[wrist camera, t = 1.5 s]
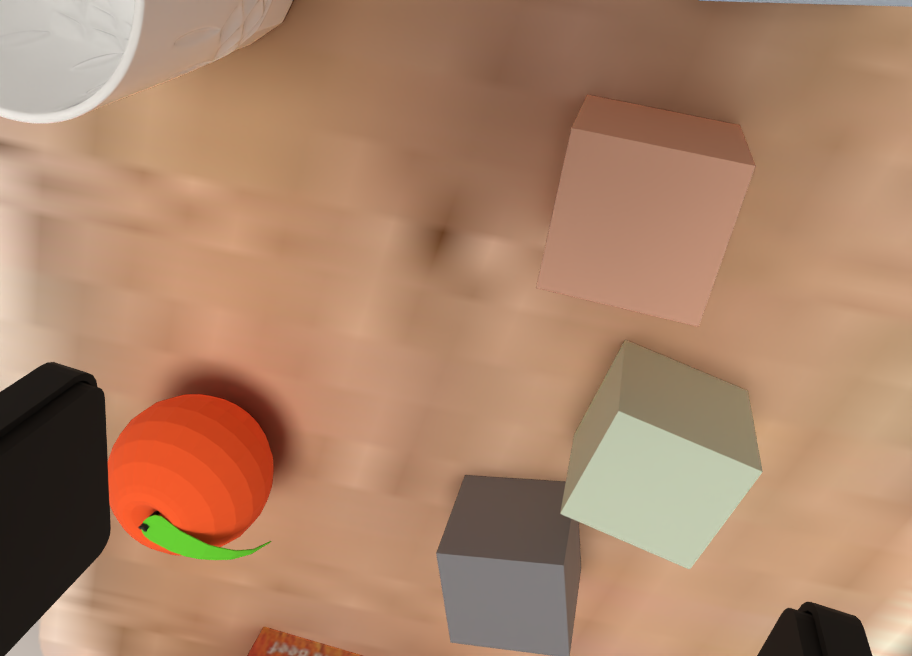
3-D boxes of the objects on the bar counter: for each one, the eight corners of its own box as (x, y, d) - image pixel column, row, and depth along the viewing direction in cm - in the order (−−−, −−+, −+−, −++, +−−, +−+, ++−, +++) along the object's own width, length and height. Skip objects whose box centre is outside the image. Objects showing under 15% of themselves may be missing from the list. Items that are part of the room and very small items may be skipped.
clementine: (340, 429, 34) (270, 537, 28) (288, 519, 38) (215, 632, 32) (189, 338, 34) (84, 428, 28) (150, 437, 37) (50, 536, 31)
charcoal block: (465, 473, 34) (436, 553, 29) (577, 481, 32) (563, 565, 28) (476, 557, 36) (450, 642, 32) (581, 567, 34) (569, 657, 30)
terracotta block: (587, 94, 25) (571, 127, 21) (739, 124, 24) (755, 166, 20) (556, 231, 27) (535, 287, 23) (693, 263, 27) (698, 326, 22)
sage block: (625, 338, 29) (618, 410, 24) (747, 389, 28) (762, 471, 24) (574, 433, 31) (560, 513, 27) (686, 480, 31) (689, 569, 27)
